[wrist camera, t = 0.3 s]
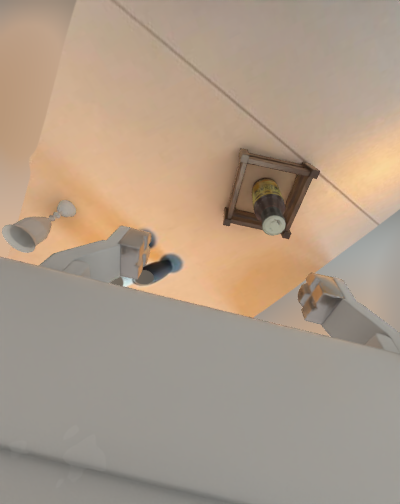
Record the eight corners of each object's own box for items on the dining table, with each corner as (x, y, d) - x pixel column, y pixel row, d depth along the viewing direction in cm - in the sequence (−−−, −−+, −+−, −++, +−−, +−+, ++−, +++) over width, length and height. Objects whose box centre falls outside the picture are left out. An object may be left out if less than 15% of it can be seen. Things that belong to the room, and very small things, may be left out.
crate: (240, 148, 52) (242, 153, 46) (309, 163, 52) (320, 171, 46) (223, 212, 61) (223, 224, 55) (282, 225, 61) (288, 239, 55)
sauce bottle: (276, 174, 54) (296, 205, 38) (277, 199, 57) (297, 237, 41) (248, 180, 56) (256, 211, 39) (251, 204, 59) (259, 243, 42)
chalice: (50, 206, 66) (-3, 236, 51) (61, 191, 63) (8, 218, 48) (72, 224, 68) (28, 257, 53) (84, 210, 65) (40, 241, 50)
